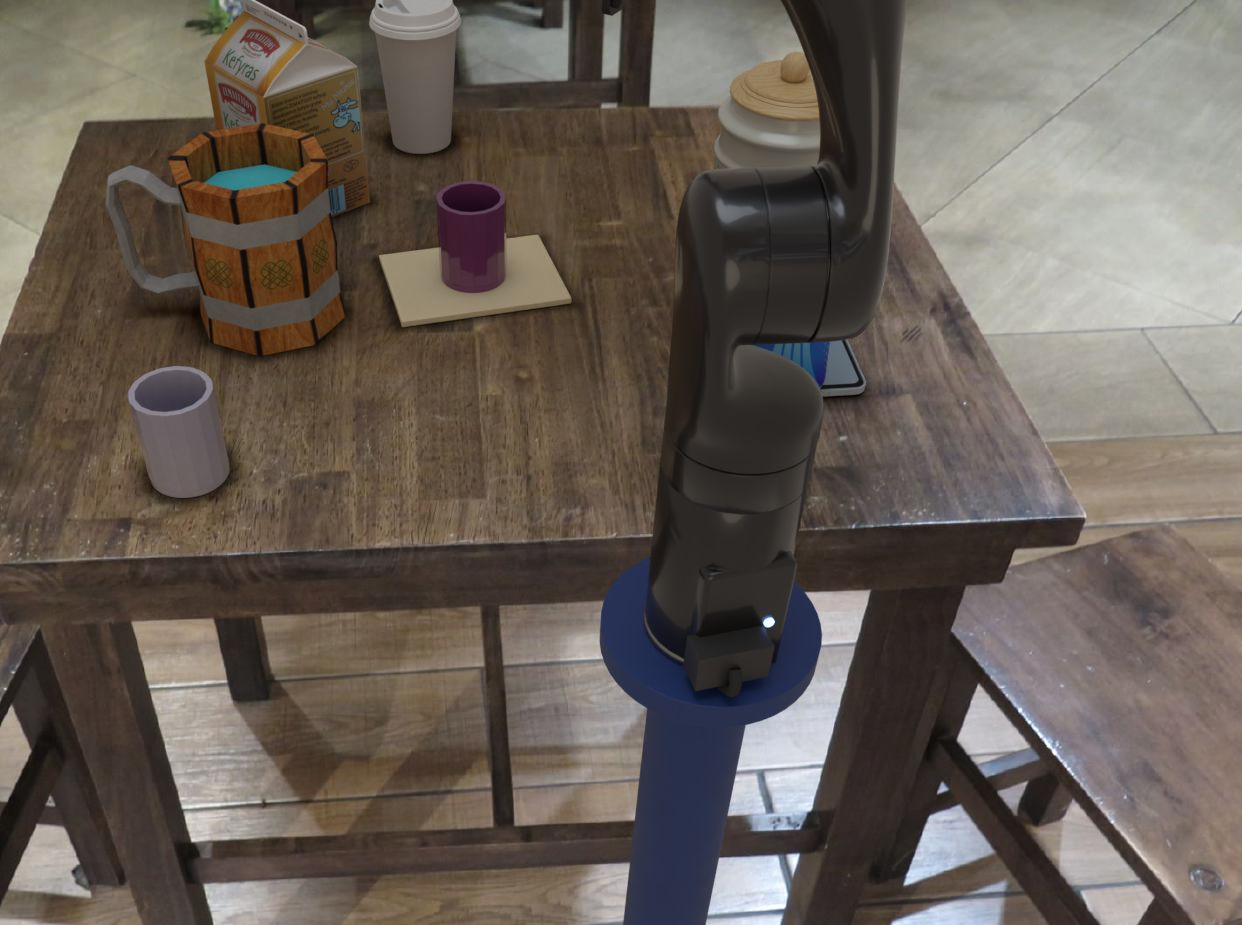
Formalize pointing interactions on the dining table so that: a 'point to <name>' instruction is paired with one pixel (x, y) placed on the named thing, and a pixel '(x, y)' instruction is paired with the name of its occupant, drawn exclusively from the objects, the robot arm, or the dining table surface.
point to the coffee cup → (417, 70)
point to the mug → (248, 236)
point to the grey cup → (179, 431)
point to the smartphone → (842, 371)
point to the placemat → (433, 301)
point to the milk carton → (292, 93)
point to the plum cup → (472, 236)
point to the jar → (770, 117)
